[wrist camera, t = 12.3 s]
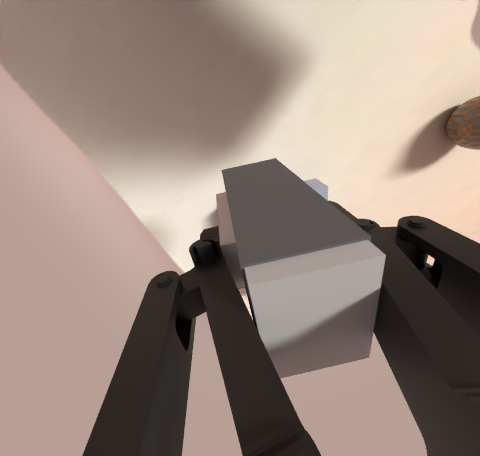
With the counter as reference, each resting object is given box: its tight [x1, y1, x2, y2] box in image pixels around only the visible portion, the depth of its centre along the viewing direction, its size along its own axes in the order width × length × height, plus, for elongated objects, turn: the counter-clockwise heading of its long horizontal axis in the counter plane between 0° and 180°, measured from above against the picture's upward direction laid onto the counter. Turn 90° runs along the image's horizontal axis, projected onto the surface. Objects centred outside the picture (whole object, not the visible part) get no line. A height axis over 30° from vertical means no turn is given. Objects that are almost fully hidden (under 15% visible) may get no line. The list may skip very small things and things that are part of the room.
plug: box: [222, 158, 386, 378], centre depth 13 cm, size 5×4×12 cm
